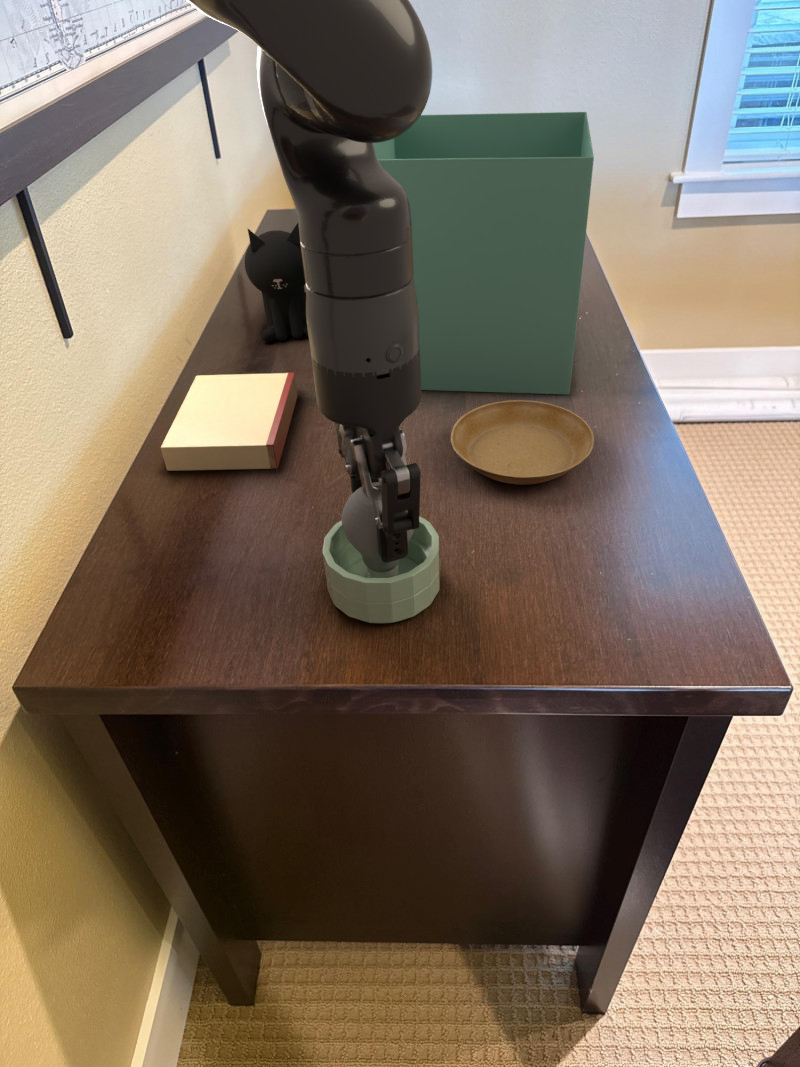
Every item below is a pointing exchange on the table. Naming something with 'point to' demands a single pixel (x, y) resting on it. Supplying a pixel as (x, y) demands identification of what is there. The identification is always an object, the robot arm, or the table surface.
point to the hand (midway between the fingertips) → (380, 532)
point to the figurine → (279, 281)
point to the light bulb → (367, 534)
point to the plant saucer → (522, 441)
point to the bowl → (382, 595)
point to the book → (232, 423)
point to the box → (496, 245)
